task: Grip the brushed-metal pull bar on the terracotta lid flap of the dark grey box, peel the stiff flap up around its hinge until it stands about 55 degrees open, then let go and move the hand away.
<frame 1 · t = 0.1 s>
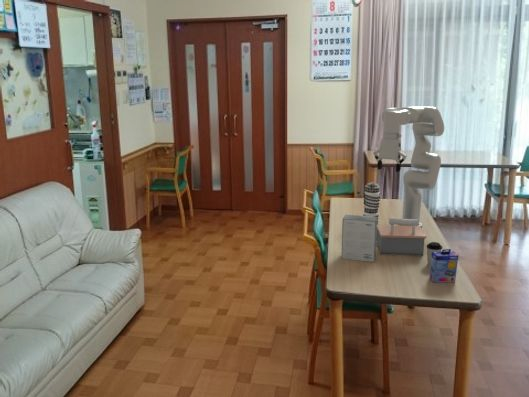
hand: (388, 170, 254), 37 cm above the table, tool pointing down, fingers open, 9 cm apart
flap: (401, 224, 247), point 13 cm above the table, hinge at 0.0°
ink cartridge box: (442, 280, 216), on the table
hard drive box: (358, 258, 241), on the table
decorative candle: (370, 227, 286), on the table
box: (399, 249, 251), on the table
coffee cup: (432, 265, 233), on the table
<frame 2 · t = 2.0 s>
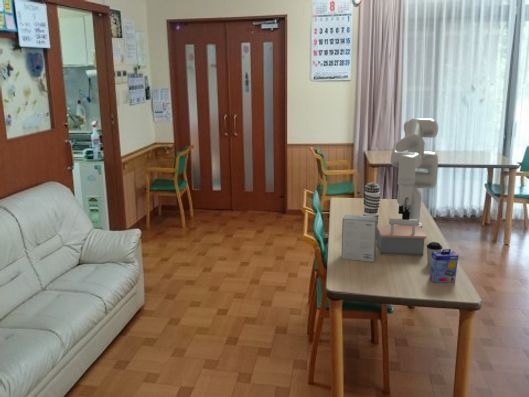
hand: (403, 216, 241), 19 cm above the table, tool pointing down, fingers open, 9 cm apart
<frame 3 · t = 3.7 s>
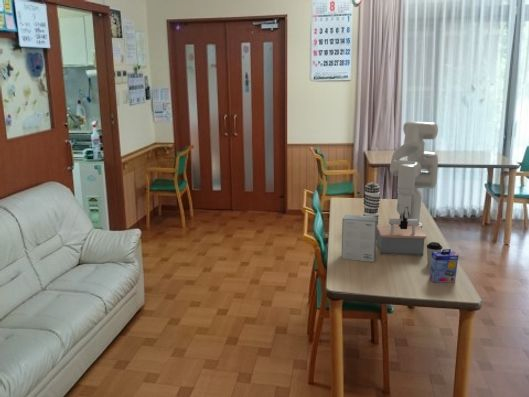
hand: (402, 227, 243), 13 cm above the table, tool pointing down, fingers closed on flap, 2 cm apart
flap: (401, 224, 247), point 13 cm above the table, hinge at -0.1°, touching gripper
everything else where it was.
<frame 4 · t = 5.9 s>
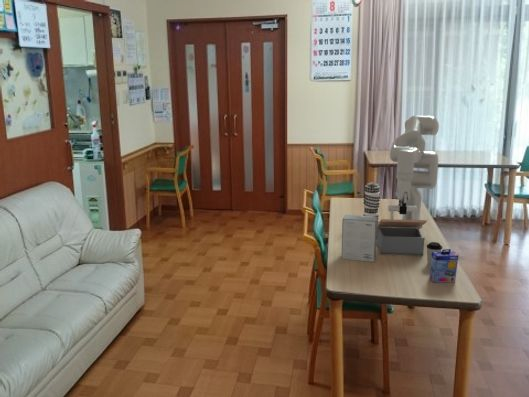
hand: (402, 212, 245), 19 cm above the table, tool pointing down, fingers closed on flap, 2 cm apart
flap: (400, 216, 249), point 17 cm above the table, hinge at 27.5°, touching gripper
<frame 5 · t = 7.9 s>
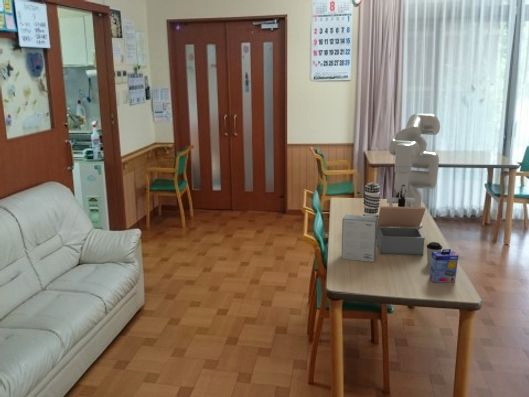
hand: (400, 204, 251), 22 cm above the table, tool pointing down, fingers open, 6 cm apart
flap: (399, 211, 252), point 18 cm above the table, hinge at 51.8°
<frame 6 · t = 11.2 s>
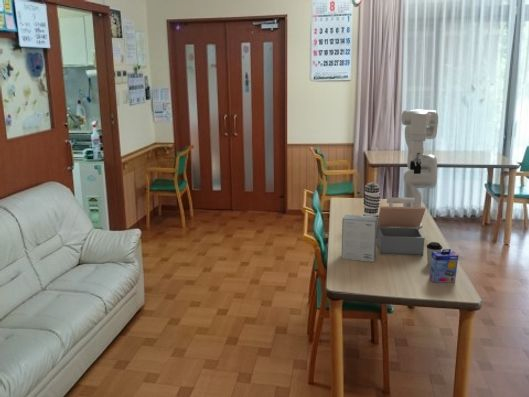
hand: (415, 171, 255), 36 cm above the table, tool pointing down, fingers open, 9 cm apart
at the end: flap at +52° (first picture: +0°); the gripper is holding nothing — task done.
